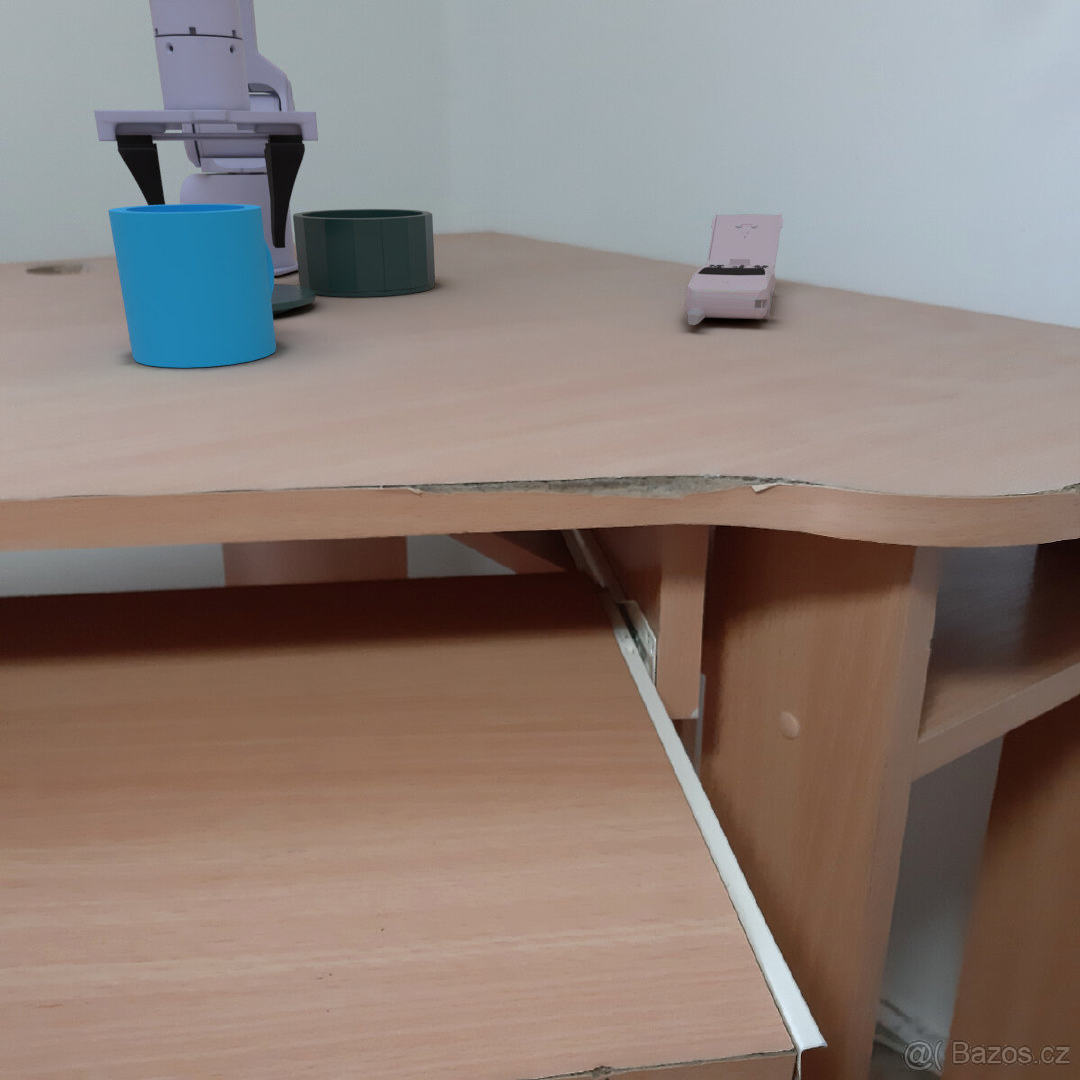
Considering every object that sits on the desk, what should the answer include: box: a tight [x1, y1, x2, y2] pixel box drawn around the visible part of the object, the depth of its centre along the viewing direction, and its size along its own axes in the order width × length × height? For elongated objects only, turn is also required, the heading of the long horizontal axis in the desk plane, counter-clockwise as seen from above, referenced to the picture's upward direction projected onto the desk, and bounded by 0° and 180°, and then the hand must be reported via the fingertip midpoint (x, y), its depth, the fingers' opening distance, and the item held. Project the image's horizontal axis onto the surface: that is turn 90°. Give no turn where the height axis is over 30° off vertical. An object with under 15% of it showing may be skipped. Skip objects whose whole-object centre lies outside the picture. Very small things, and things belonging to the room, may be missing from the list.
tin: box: [292, 208, 436, 298], centre depth 81 cm, size 11×11×6 cm
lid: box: [271, 283, 316, 316], centre depth 71 cm, size 12×12×4 cm
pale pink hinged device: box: [684, 213, 784, 326], centre depth 72 cm, size 6×6×25 cm
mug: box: [107, 203, 277, 369], centre depth 57 cm, size 12×8×8 cm
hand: (225, 248), depth 70 cm, fingers open, 7 cm apart
